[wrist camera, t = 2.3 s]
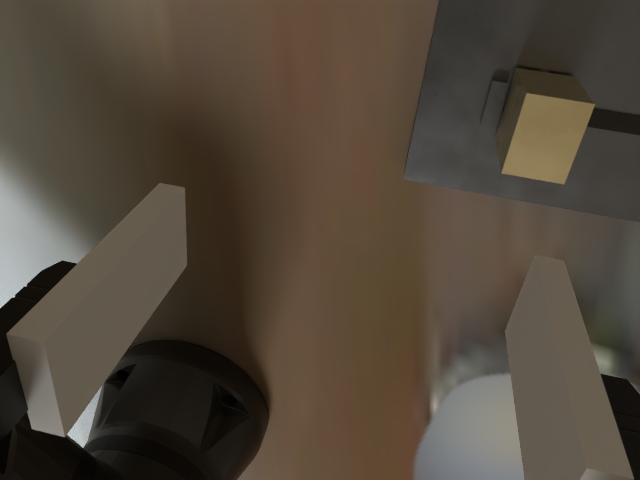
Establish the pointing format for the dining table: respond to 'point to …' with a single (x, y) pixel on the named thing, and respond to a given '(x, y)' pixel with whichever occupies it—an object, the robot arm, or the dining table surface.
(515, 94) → the block
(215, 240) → the dining table surface
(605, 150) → the console
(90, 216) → the dining table surface
